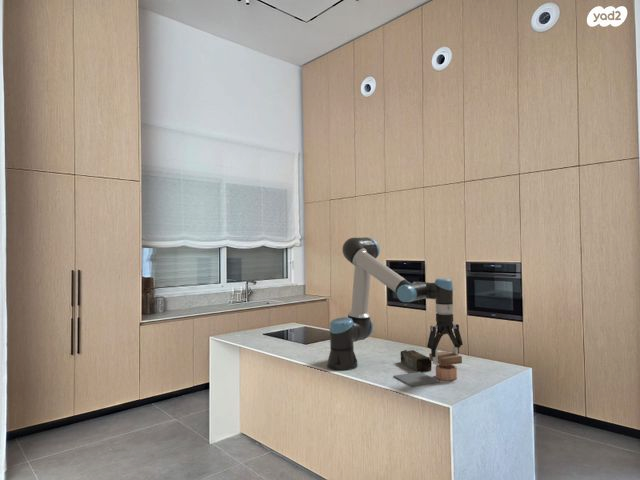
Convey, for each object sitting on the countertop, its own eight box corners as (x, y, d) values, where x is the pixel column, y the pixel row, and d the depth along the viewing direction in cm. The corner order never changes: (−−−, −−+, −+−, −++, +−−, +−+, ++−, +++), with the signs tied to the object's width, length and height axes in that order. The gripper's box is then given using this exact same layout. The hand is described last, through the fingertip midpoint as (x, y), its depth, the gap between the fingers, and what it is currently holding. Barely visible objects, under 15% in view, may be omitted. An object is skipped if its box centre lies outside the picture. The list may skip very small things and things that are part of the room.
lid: (429, 359, 194) (429, 353, 194) (447, 357, 197) (447, 351, 197) (442, 365, 184) (442, 358, 184) (461, 363, 188) (461, 356, 188)
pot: (432, 375, 193) (432, 365, 193) (448, 373, 196) (448, 363, 196) (444, 381, 185) (444, 370, 185) (461, 378, 188) (460, 367, 188)
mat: (393, 376, 193) (393, 375, 193) (420, 373, 198) (420, 371, 198) (411, 386, 179) (411, 385, 179) (439, 382, 184) (439, 380, 184)
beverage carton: (414, 361, 220) (414, 348, 220) (432, 371, 201) (432, 357, 201) (400, 362, 218) (399, 349, 218) (417, 373, 199) (416, 359, 199)
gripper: (427, 316, 184) (428, 367, 183) (470, 312, 191) (471, 362, 191) (418, 313, 191) (419, 363, 190) (459, 310, 198) (460, 358, 198)
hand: (445, 362), depth 191 cm, fingers closed on lid, 10 cm apart
